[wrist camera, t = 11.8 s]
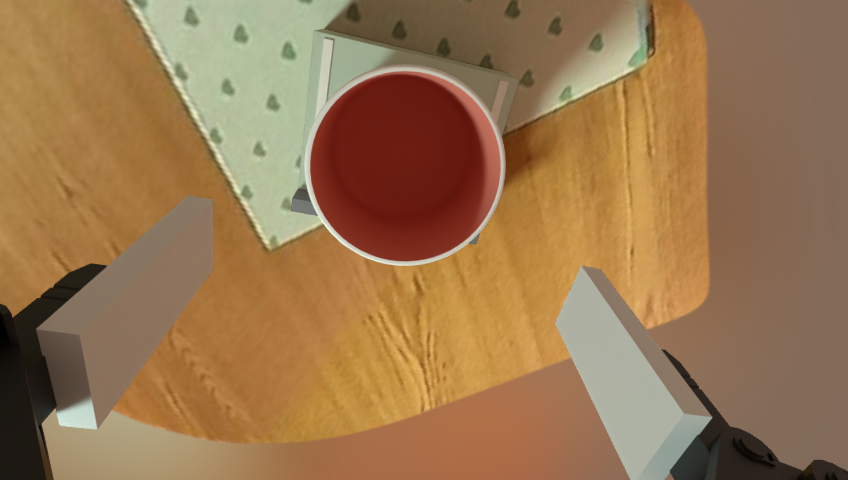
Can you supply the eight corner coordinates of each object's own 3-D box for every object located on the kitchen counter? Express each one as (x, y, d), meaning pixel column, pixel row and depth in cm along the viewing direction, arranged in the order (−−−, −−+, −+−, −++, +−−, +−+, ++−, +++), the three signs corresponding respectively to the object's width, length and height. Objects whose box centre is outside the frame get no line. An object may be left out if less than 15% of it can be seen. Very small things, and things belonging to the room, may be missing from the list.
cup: (300, 137, 30) (259, 157, 21) (412, 40, 29) (423, 14, 19) (392, 241, 33) (393, 301, 24) (498, 159, 32) (544, 187, 22)
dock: (323, 28, 31) (307, 31, 26) (506, 73, 33) (526, 83, 28) (307, 182, 37) (291, 211, 31) (466, 212, 39) (476, 244, 33)
